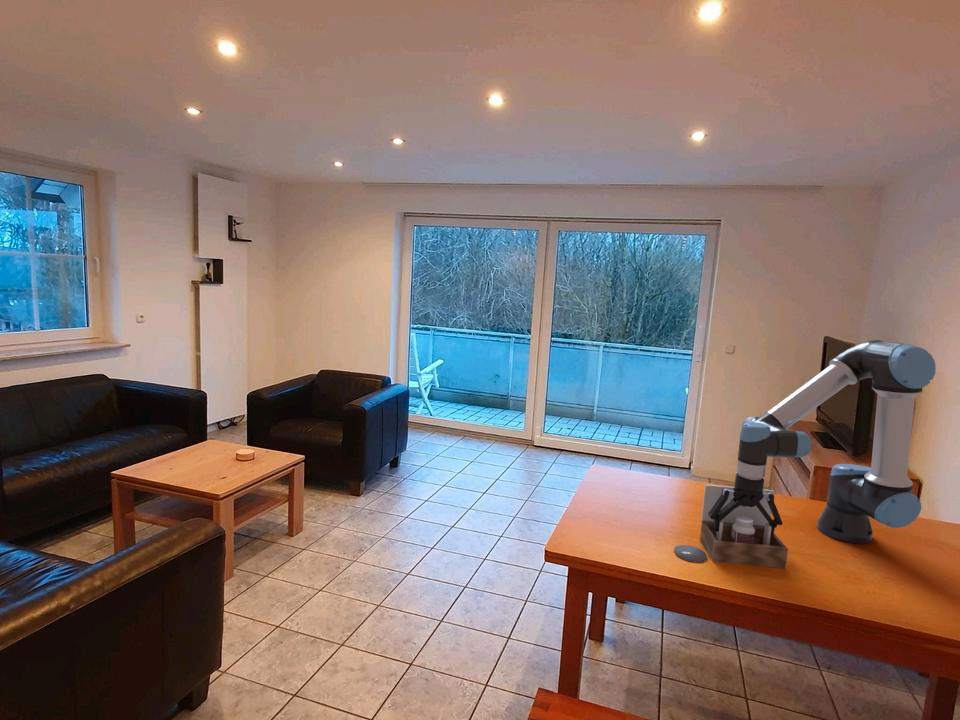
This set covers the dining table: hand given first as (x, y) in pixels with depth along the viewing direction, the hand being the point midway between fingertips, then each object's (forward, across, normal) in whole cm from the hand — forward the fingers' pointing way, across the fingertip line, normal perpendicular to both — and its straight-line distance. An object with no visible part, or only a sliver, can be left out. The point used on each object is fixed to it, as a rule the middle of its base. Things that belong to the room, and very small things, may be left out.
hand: (741, 543), depth 160 cm
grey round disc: (+3, +16, +4) cm, 16 cm away
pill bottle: (+4, 0, 0) cm, 4 cm away
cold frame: (+3, 0, -2) cm, 4 cm away
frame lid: (-3, 0, -7) cm, 7 cm away
